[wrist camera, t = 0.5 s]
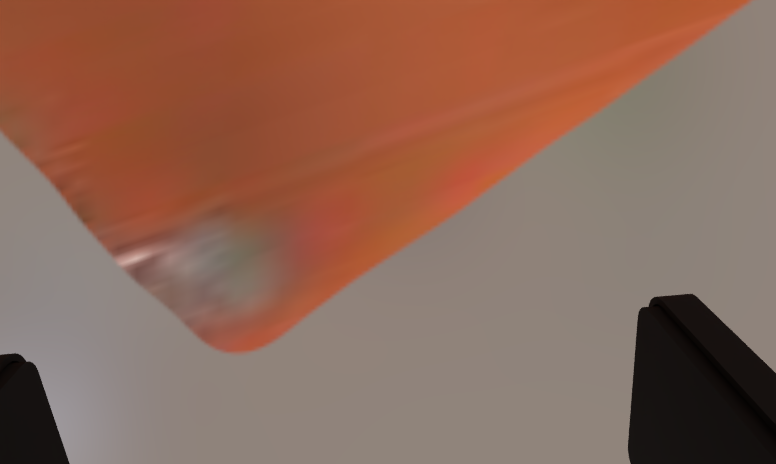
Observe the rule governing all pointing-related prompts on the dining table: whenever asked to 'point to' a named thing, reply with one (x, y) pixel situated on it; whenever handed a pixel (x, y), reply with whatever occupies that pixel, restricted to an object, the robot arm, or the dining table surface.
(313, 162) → the dining table surface
